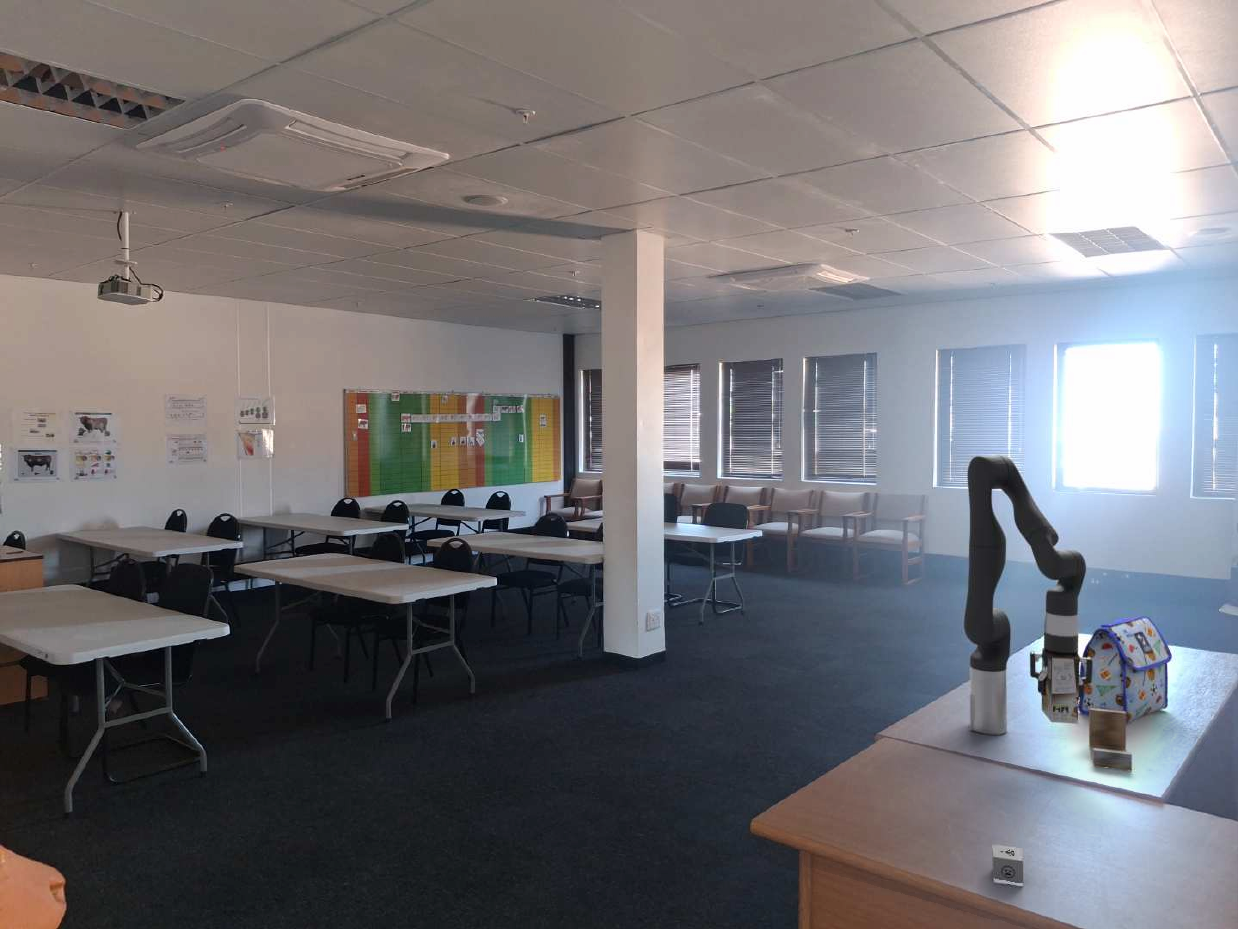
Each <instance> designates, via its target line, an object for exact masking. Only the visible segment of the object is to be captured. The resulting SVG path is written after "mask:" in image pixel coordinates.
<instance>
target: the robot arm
mask: <svg viewBox="0 0 1238 929" xmlns="http://www.w3.org/2000/svg"><path fill="white" fill-rule="evenodd" d="M967 490H968V503H969V539H968V540H969V541H968V576H967V577H968V580H967V583H968V584H967V595H966V596H967V597H966V603H965V611H964V617H963V628H964V633H965V635H966V637H967V639H968V640H969V641H970V642H971V643H972V644H974V645H976V648H975V650H974V651H973V652H972V653H971V655H970V656H969V689H970V690H969V731H972V732H973V731H974V732H976V733H979V734H984V735H991V736H992V735H1002V734H1006V733H1007V731H1008V712H1007V711H1008V704H1007V703H1008V702H1007V701H1008V700H1007V699H1008V694H1007V693H1008V692H1007V689H1008V687H1007V684H1008V683H1007V681H1008V679H1007V677H1008V676H1007V675H1008V674H1007V668H1008V667H1007V666H1008V665H1007V664H1008V661H1009V659H1010V655H1011V654H1010V653H1011V639H1012V638H1011V635H1012V632H1011V629H1012V628H1011V622H1010V619H1009V617H1008V615H1007V614H1006V612H1004V610H1002V609H1000V608H998V607H994V597H995V593H996V589H997V587H998V585H999V582H1000V580H1001V577H1002V574H1003V572H1004V570H1005V567H1006V559H1007V539H1006V538H1007V537H1006V535H1005V531H1004V530H1003V528H1002V526H1001V524H1000V523H999V520H998V519H997V517H996V515H995V512H994V509H993V494H992V493H993V490H1001V491H1002V492H1004V494H1005V495H1006V496H1007V497H1008V499H1009V500H1010V501H1011V504H1012V508H1013V519H1014V523H1015V524H1014V525H1016V528H1017V530H1018V532H1019V533H1020V534H1021V536H1022V537H1023V538H1024V540H1025V542H1026V543H1027V544H1028V545H1029V546H1030V549H1031V551H1032V555H1033V557H1034V560H1035V563H1036V565H1037V569H1038V570H1039V572H1040V573H1041V574H1042V575H1043V576H1044V577H1046V578H1047V579H1049V580H1051V581H1057V584H1056V585H1055V586H1053V587H1051V588H1049V589H1048V590H1047V591H1046V594H1045V614H1044V615H1045V616H1044V621H1043V622H1044V624H1043V648H1044V650H1043V652H1042V651H1041V652H1035V651H1032V650H1031V651H1030V652H1029V676H1030V677H1031V678H1034V679H1036V680H1037V692H1038V693H1040V696H1042V695H1043V696H1044V678H1045V677H1046V676H1047V668H1048V666H1047V667H1046V668H1045V667H1043V669H1042V668H1041V670H1040V672H1037V670H1036V663H1038V662H1039V661H1040V659H1041V660H1042V659H1043V660H1044V662H1045V663H1046V664H1047V654H1066V655H1074V656H1077V657H1078V658H1079V659H1080V661H1079V663H1081V662H1082V663H1083V666H1084V667H1086V674H1085V677H1082V678H1081V676H1080V674H1079V699H1080V698H1082V696H1083V685H1084V684H1086V683H1088V684H1090V683H1091V682H1092V665H1093V661H1092V658H1091V657H1087V658H1084V657H1082V656H1080V654H1079V631H1080V627H1079V617H1078V616H1079V615H1078V612H1079V595H1080V593H1081V590H1082V587H1083V583H1084V580H1085V577H1086V572H1087V564H1086V560H1085V558H1084V556H1083V555H1082V553H1081V552H1079V551H1078V550H1076V549H1062V550H1057V549H1055V546H1056V545H1057V544H1058V542H1059V539H1060V538H1059V535H1058V532H1057V531H1056V529H1055V528H1054V527H1053V525H1052V524H1051V523H1050V522H1049V521H1048V519H1047V518H1046V516H1045V515H1044V514H1043V513H1042V511H1041V510H1040V509H1039V507H1038V505H1037V504H1036V502H1035V500H1034V498H1033V496H1032V494H1031V492H1030V490H1029V489H1028V487H1027V485H1026V482H1025V481H1024V479H1023V477H1022V475H1021V473H1020V472H1019V470H1018V468H1017V465H1016V464H1015V462H1014V461H1013V460H1012V459H1011V458H1010V457H1009V456H1007V455H1004V454H1003V455H1002V454H987V455H986V454H985V455H977V456H975V457H973V458H971V460H970V462H969V463H968V467H967Z"/></svg>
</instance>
